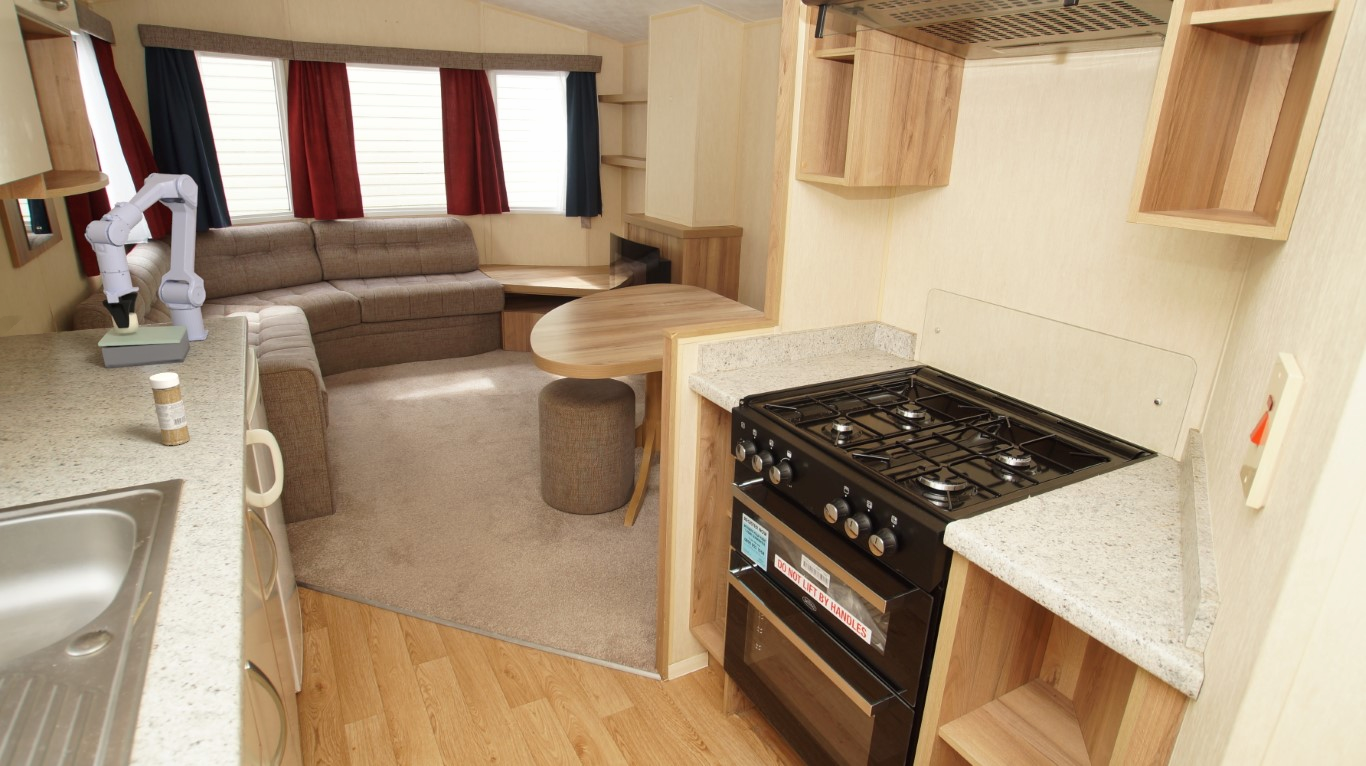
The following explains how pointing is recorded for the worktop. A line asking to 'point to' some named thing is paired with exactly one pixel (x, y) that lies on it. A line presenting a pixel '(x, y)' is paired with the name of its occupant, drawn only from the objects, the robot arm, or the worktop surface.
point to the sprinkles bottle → (169, 408)
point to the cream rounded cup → (132, 325)
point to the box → (145, 353)
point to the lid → (144, 336)
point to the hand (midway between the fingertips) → (126, 325)
